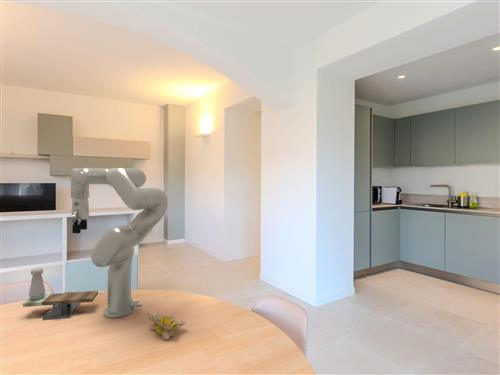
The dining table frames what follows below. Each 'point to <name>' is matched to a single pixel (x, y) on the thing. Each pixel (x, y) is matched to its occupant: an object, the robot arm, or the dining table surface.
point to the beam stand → (61, 310)
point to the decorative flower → (164, 324)
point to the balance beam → (63, 298)
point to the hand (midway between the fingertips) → (80, 231)
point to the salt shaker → (37, 284)
